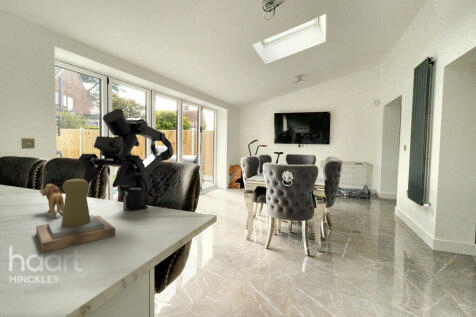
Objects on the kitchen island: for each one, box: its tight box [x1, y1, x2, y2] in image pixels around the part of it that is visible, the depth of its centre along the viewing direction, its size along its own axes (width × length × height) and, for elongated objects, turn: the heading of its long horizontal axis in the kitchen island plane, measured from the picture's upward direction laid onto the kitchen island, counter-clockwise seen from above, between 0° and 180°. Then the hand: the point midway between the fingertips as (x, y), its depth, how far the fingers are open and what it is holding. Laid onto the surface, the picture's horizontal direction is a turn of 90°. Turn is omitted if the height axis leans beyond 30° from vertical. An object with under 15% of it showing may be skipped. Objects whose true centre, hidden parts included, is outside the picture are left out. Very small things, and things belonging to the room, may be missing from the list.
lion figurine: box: [39, 183, 65, 218], centre depth 77 cm, size 15×5×9 cm, turn 53°
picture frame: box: [35, 214, 116, 253], centre depth 60 cm, size 14×14×3 cm
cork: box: [61, 178, 91, 227], centre depth 59 cm, size 6×6×11 cm
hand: (98, 185), depth 67 cm, fingers open, 9 cm apart
